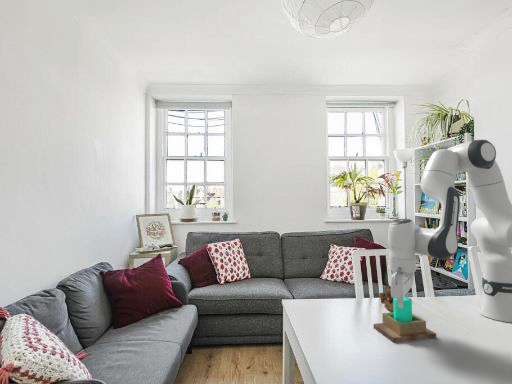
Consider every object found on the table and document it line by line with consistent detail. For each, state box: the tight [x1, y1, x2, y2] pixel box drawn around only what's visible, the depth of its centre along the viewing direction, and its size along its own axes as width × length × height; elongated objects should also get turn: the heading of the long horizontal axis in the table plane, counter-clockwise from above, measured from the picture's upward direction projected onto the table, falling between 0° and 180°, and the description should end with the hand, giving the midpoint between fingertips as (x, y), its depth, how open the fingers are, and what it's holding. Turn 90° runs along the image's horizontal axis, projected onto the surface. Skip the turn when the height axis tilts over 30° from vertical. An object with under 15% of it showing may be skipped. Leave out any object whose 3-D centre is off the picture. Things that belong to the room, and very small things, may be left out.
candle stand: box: [373, 311, 437, 344], centre depth 112 cm, size 16×12×6 cm
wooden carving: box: [379, 285, 394, 312], centre depth 135 cm, size 16×5×10 cm, turn 11°
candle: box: [393, 297, 413, 322], centre depth 113 cm, size 6×6×12 cm
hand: (402, 304), depth 113 cm, fingers closed on candle, 5 cm apart
